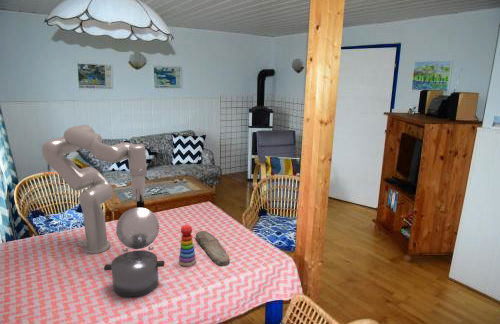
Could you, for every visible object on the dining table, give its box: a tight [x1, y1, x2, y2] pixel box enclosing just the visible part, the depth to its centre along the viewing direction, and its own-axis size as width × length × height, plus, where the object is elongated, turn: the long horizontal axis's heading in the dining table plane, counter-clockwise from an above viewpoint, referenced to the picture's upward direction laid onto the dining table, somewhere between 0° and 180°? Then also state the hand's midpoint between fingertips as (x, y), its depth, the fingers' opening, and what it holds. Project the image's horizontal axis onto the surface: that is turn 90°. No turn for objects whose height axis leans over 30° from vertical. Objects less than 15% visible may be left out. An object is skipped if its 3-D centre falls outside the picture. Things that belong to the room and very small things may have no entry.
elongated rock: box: [195, 230, 231, 267], centre depth 178 cm, size 35×5×10 cm
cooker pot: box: [103, 246, 165, 299], centre depth 147 cm, size 24×19×12 cm
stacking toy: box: [178, 224, 197, 267], centre depth 163 cm, size 8×8×19 cm
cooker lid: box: [115, 206, 160, 250], centre depth 156 cm, size 18×18×4 cm
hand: (140, 209), depth 164 cm, fingers closed
